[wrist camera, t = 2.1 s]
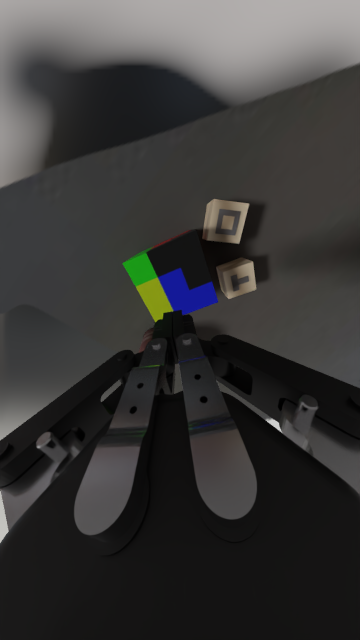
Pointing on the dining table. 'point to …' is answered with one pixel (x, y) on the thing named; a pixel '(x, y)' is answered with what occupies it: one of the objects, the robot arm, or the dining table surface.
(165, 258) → the puzzle toy
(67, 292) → the dining table surface
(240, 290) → the marked block
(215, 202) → the marked block
